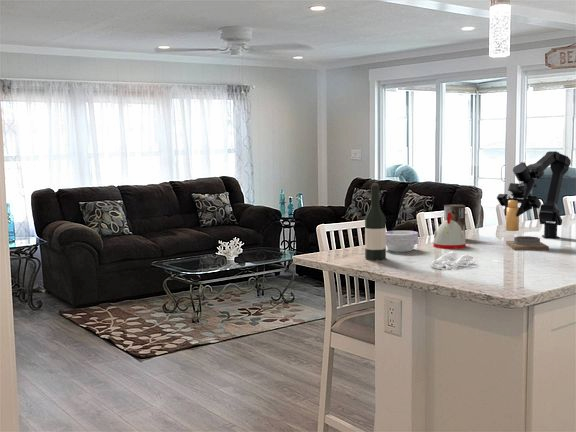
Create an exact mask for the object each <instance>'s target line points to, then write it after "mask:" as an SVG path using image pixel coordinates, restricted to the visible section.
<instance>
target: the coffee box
mask: <svg viewBox="0 0 576 432" xmlns="http://www.w3.org/2000/svg"><path fill="white" fill-rule="evenodd" d="M443 207H444V208H443V209H444V211H443V213H444V215H443V216H444V217H443V218H444V219H443V222H444V221H446V220H447V217H448V213H451V215H452V220H453V221H455V222H456V223H457V224H458V225H459V226H460V227H461V229H462V231H464V234H465V235H466V206H465V204H443Z"/></svg>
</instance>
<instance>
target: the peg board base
mask: <svg viewBox="0 0 576 432" xmlns="http://www.w3.org/2000/svg"><path fill="white" fill-rule="evenodd" d="M505 241H506V242H505V243H506V244H505V245H506V246H508V247H509V248H511V249H512V250H514V251H550V250H549V249H550V246H549V245H547V244H545V243H543V242H541V238H540V237H538V236H530V235H529V236H525V235H524V236H521V235H519V236H515V237H514V239H513V240H505Z"/></svg>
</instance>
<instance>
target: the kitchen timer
mask: <svg viewBox="0 0 576 432" xmlns="http://www.w3.org/2000/svg"><path fill="white" fill-rule="evenodd" d="M432 243H433V245H432V246H433V248H438V249H442V250H443V249H445V250H447V249H448V250H456V249H457V250H459V249H464V248H466V247H467V246H466V245H467V243H466V233H465V234H464V231H462V229H461V227H460V226H459V225H458V224H457V223H456V222H455V221H453V220H452V215H451V213H448V217H447V220H446V221H444V220H443V222H442V223H441V224H440V225H439V226H438V227H437V229H436V230H434V234H433V242H432Z"/></svg>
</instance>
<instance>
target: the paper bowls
mask: <svg viewBox="0 0 576 432" xmlns="http://www.w3.org/2000/svg"><path fill="white" fill-rule="evenodd" d="M415 245H419V232H418V231H414V230H388V231H386V247H387V249H388V251H390V252H395V253H407V252H411V251H412V250H414V248H415Z"/></svg>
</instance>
